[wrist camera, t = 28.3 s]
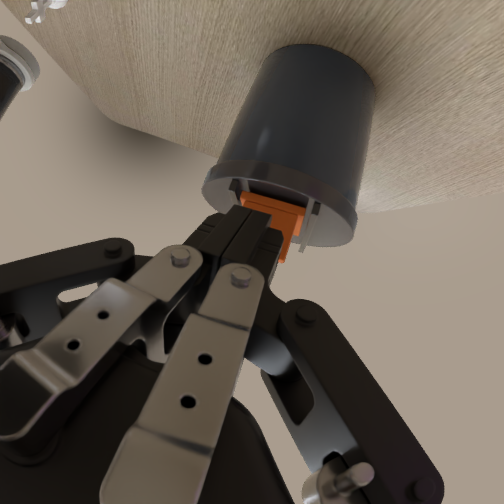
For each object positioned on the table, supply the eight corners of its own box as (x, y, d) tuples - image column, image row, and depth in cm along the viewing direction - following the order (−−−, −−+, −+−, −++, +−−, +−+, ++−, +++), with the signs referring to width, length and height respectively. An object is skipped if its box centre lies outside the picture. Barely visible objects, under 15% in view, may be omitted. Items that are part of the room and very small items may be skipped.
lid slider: (248, 214, 21) (233, 257, 20) (242, 189, 17) (223, 242, 16) (300, 229, 20) (286, 274, 20) (306, 208, 16) (289, 263, 16)
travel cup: (259, 111, 29) (213, 228, 26) (252, 30, 18) (177, 171, 16) (363, 139, 27) (334, 265, 25) (394, 64, 17) (372, 227, 15)
